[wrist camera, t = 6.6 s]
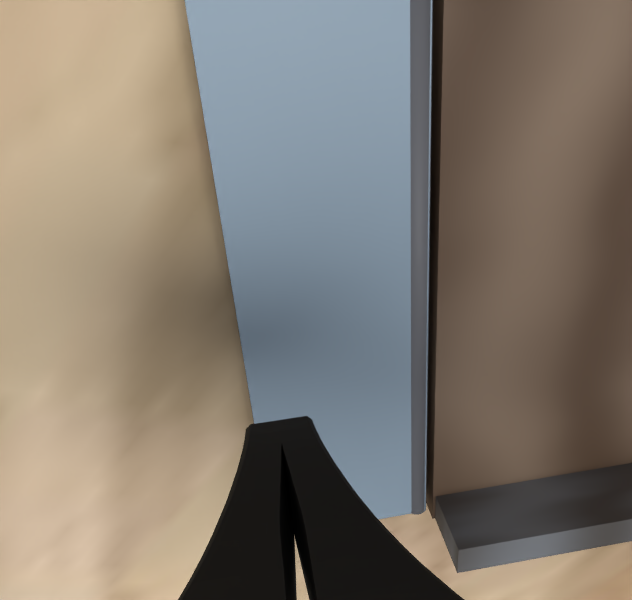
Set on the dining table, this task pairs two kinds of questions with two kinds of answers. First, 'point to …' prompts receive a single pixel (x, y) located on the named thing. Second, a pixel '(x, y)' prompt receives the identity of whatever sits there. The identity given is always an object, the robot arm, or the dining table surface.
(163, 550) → the dining table surface
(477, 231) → the flatbed
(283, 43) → the bar
